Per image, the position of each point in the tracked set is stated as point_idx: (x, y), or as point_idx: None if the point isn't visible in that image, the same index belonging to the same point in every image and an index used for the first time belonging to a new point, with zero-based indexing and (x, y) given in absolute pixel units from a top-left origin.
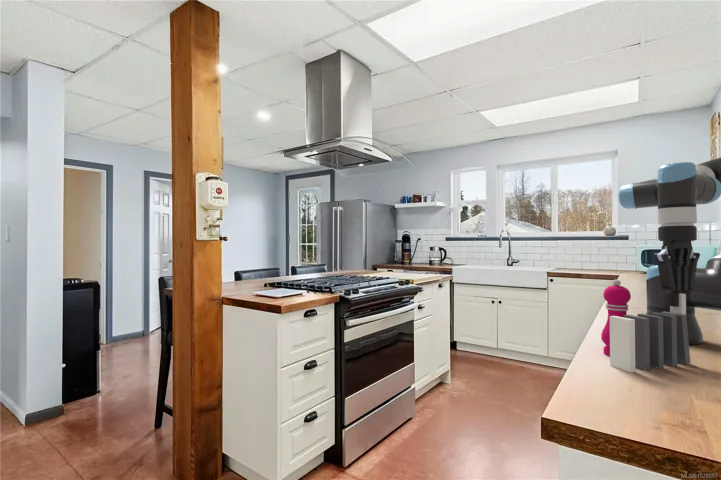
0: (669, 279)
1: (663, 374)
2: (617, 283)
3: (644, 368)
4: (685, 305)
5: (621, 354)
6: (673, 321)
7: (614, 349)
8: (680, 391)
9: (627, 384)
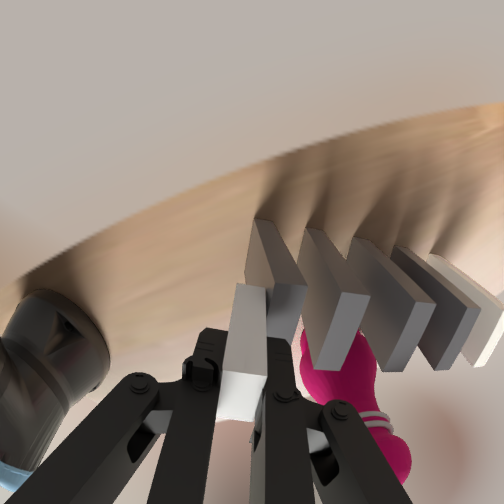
0: (390, 472)
1: (405, 213)
2: None
3: (409, 250)
4: (232, 323)
5: None
6: (355, 283)
7: None
8: (472, 154)
9: (494, 223)
